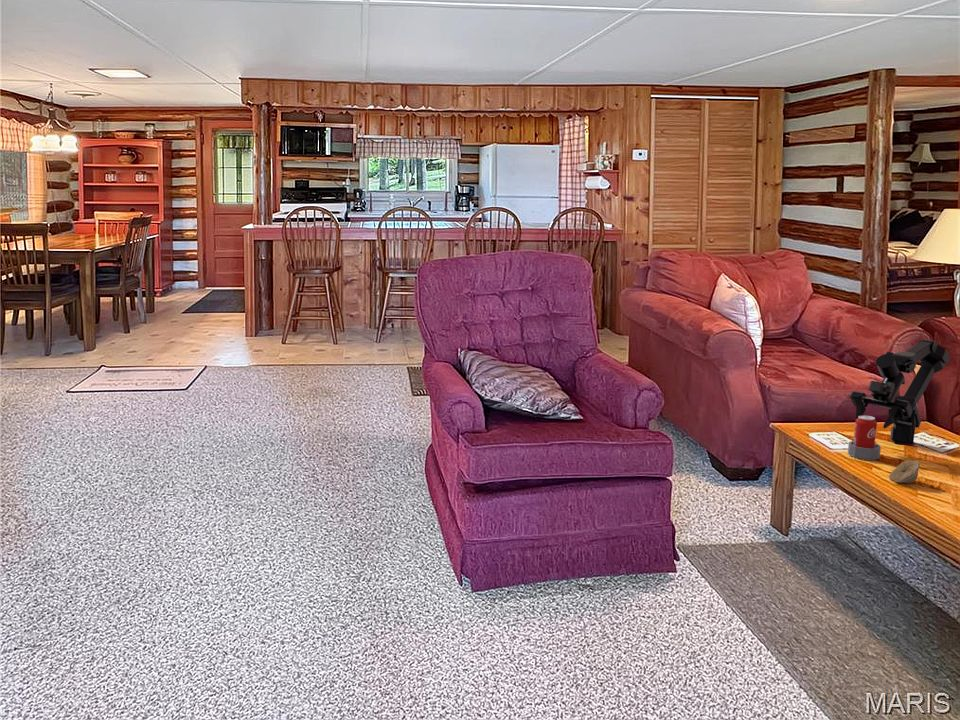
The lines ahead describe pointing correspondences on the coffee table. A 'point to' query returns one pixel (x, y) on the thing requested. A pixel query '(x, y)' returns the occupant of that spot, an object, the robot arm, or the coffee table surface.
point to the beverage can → (865, 432)
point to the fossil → (905, 472)
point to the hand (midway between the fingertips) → (869, 424)
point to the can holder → (864, 452)
